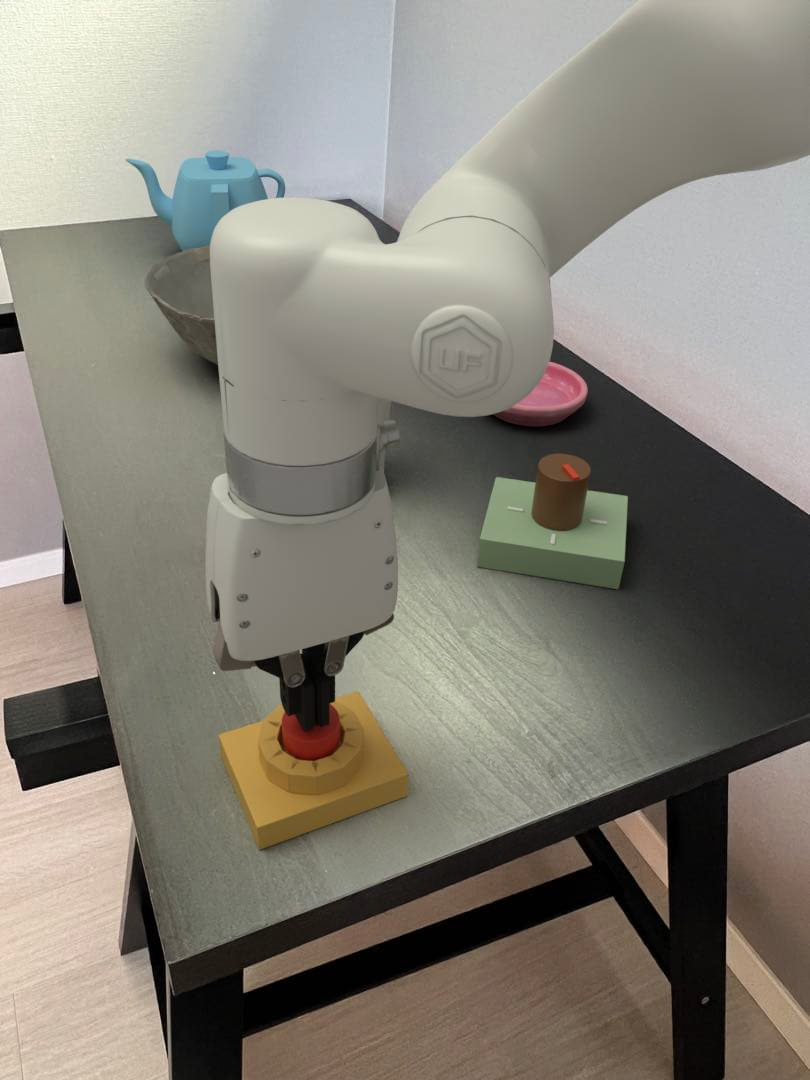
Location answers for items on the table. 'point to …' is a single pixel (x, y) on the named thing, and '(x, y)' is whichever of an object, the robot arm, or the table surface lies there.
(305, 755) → the button
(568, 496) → the knob
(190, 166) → the teapot
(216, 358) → the ceramic bowl
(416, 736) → the table surface
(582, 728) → the table surface
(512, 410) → the saucer
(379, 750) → the button box
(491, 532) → the panel
